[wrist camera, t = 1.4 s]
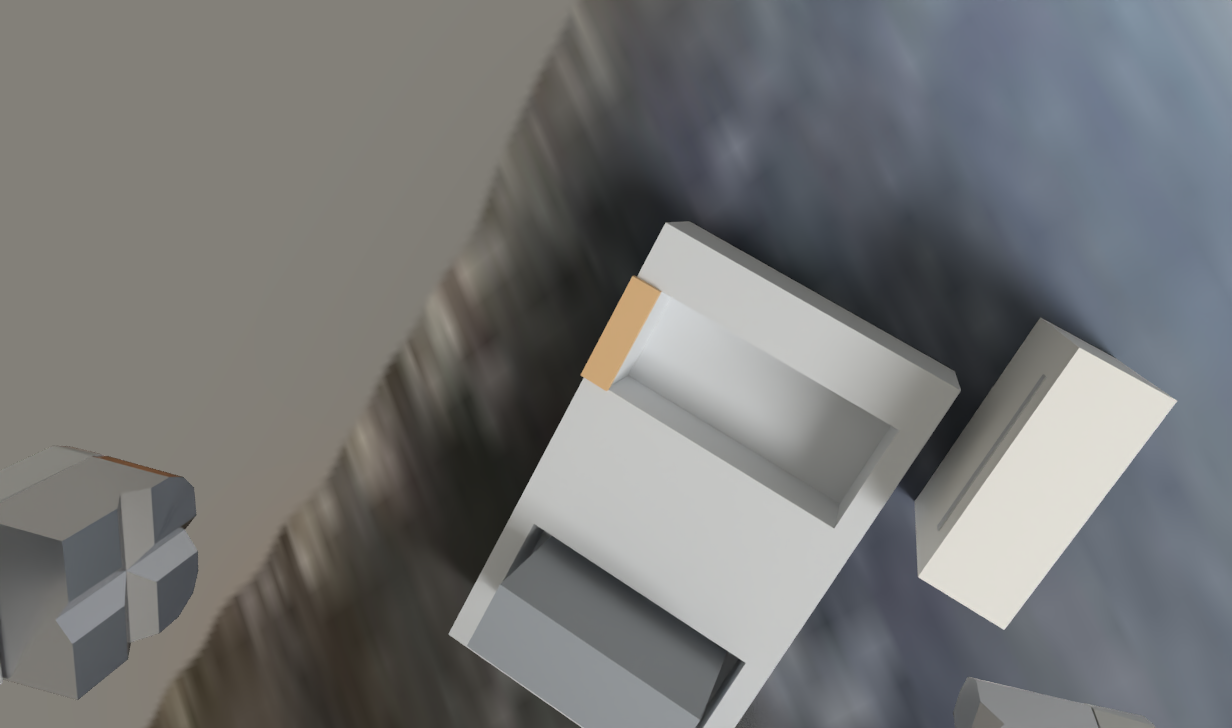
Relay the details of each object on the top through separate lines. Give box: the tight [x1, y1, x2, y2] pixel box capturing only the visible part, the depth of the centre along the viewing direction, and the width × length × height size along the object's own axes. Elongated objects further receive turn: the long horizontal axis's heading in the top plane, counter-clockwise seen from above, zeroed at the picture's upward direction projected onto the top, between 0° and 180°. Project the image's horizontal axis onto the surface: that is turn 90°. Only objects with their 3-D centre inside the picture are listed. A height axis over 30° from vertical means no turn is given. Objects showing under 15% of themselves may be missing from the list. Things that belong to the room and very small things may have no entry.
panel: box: [915, 317, 1177, 630], centre depth 31 cm, size 9×3×8 cm, turn 152°
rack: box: [449, 221, 961, 728], centre depth 35 cm, size 12×20×8 cm, turn 152°
